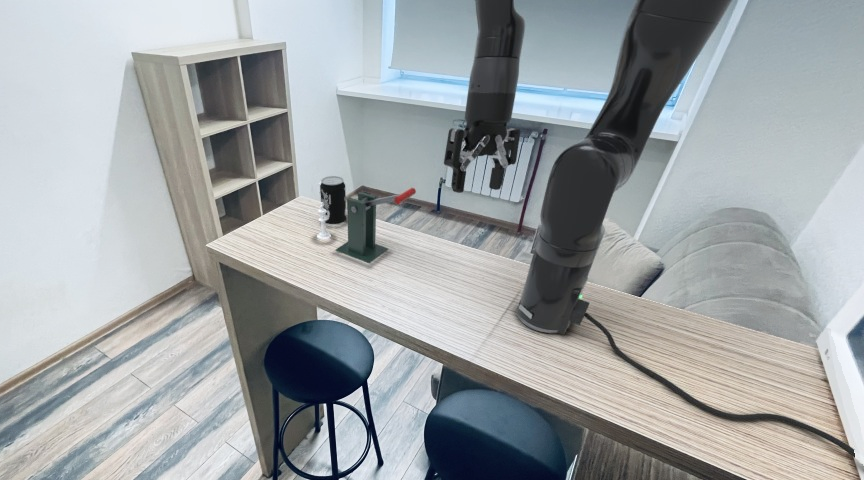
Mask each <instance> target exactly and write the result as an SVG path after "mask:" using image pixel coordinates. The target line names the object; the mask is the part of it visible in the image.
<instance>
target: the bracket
mask: <svg viewBox="0 0 864 480" xmlns="http://www.w3.org/2000/svg"><path fill="white" fill-rule="evenodd" d="M363 198H368V200H369V201H370V200H375V199H377V195H373V194H370V193H366V192H363V191H359V192H358V193H357V198H353V197H348V198H346V220H347V242H345V243H343V244H342V245H340V246H339V247H337V248H336V249H334V250H335V251H336V252H338V253H341V254H343V255H345V256H349V257H351V258H354V259H357V260H359V261H362V262H364V263H367V264H370V263H372V262H373V261H375V260H376V259H377V258H379V257H380V256H381V255H383V254H385V252H387V251H388V250H389V248H388V247H385V246H382V245H379V244H377V243H376V237H377V236H376V235H377V234H376V230H377V205H373V206H371V208H369V209H368V210H366V202H363V201H360V200H358V199H363Z"/></svg>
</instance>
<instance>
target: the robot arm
mask: <svg viewBox="0 0 864 480" xmlns="http://www.w3.org/2000/svg"><path fill="white" fill-rule="evenodd" d="M474 2H475V4H474V6H475V16H476V25H477V34H476V40H475V46H474V47H475V48H474V54H473V55H474V56H473V62H472V67H471V70H470V74H469V81H468V87H467V88H468V89H467V96H466V104H465V112H464V120H465V123H466V124H465V127H464V128H463V129H462V128H453V127H451V128H450V129H449V130H448V133H447V140H446V147H445V152H444V158H443V164H444V166H446V167H449V168H451V169H452V174H451V183H450V187H451V189H452V191H453V192H454V193H458V194H461V193H463V192H464V190H465V184H466V176H467V169H468V167H469V166H470V164H471V162H473V161H475V160H476V158H477V157H483V156H487V157H488V158H490V160H491V162H492V165H493V167H491V172H490V177H489V185H488V187H489V189H490V190H491V189H492V190H495V191H497V190H498V191H499V190H501V187H502V185H503V183H504V177H505V171H506V169H507V168H508V167H509V166H510V165H516V163H517V158H518V152H519V145H520V138H521V129H520V128H512V127H509V128H507V125H508V123H510V122H511V121H512V117H513V112H514V105H515V99H516V95H517V94H516V93H517V88H518V83H519V75H520V62H521V57H522V56H521V55H522V49H523V44H524V37H525V31H526V21H525V19H524V17H523V16H522V15H521V14H520V13H519V12H518V11H517V10H516V8H515V2H514V0H474ZM732 2H733V0H636V1H635V2H634V5H633V7H632V8H631V12H630V14H629V16H628V19H627V22H626V24H625V27H624V31H623V33H622V36H621V40H620V44H619V48H618V52H617V53H618V54H617V58H616V63H615V69H614V74H613V78H612V82H611V86H610V88H609V92H608V94H607V96H606V99H605V101H604V103H603V105H602V107H601V109H600V111H599V113H598V115H597V116H596V118H595V120H594V122H592V123H593V124H592V125H591V127H590V128H589V130H588V132H587V133H586V135H585V136H584V138H582V140H580V141H578V142H576V143H573V144H572V145H570V146H569V147H567V148H565V149H564V150H563V151H561V153H560V154H559V155H558V156H557V157H556V159H555V160H554V163H553V164H552V167H551V169H550V172H549V176H548V179H547V183H546V187H545V192H544V195H543V200H542V205H541V208H540V215H539V216H540V224H541V225H540V229H539V233H538V237H537V240H536V244H535V247H534V251H533V254H532V258H531V261H530V264H529V268H528V272H527V275H526V278H525V282H524V285H523V289H522V293H521V296H520V300H519V303H518V306H517V309H516V315H517V318H518V319H519V321H520V322H521V323H522V324H524V325H525V326H526V327H528V328H529V329H532V330H534V331H537V332H540V333H544V334H559V335H562V336H564V335H565V334H566V333H567V330H568V329H569V327H570V325H571V323H572V324H575V325H578V326H581V324H582V322H583V320H584V318H585V319H587V320H588V321H589V322H591V323H592V324H593V325H594V326H596V327H597V328H598V329H599V330H600V331H601V332H602V333H603V334H604V335H605V337H606V338H607V340H608V343H609V345H610V347H611V349H612V351H614V352H615V353H616V354H617V355H618V356H619V357H620V358H621V359H622V360H624V361H625V362H627V363H628V364H630V365H631V366H633V367H634V368H636V369H638V370H639V371H641V372H643V373H645V374H647V375H648V376H650V377H652V378H653V379H656V380H657V381H659V382H660V383H662V384H663V385H665V386H667V387H668V388H670V389H671V390H672V391H674V392H675V393H677V394H678V395H679V396H681V397H682V398H684V399H685V400H687V401H688V402H690V403H692V404H693V405H695V406H696V407H698V408H700V409H702V410H704V411H705V412H709V413H711V414H713V415H716V416H717V417H718V416H719V417H722V418H725V419H729V420H735V421H758V420H774V421H779V422H784V423H786V424H789V425H792V426H795V427H797V428H800V429H802V430H805V431H807V432H810V433H812V434H814V435H816V436H819V437H821V438H823V439H825V440H826V441H829V442H831V443H833V444H834V445H836V446H837V447H839V448H841V449H842V450H843V451H845V452H847V454H849V455H850V456H851V457H853V458H854V459H855V453H854V450H855V448H853V447H852V446H851V445H849V444H847V443H845V441H843V440H840V439H839V438H837V437H835V436H833V435H831V434H829V433H827V432H825V431H823V430H821V429H819V428H816V427H813V426H812V425H809V424H808V423H804V422H801V421H799V420H796V419H794V418H791V417H788V416H786V415H785V416H784V415H780V414H775V413H747V414H737V413H730V412H726V411H723V410H721V409H720V410H719V409H717V408H714V407H712V406H710V405H707V404H705V403H704V402H702V401H700V400H698V399H697V398H695V397H693V396H692V395H690V394H689V393H687V392H686V391H685V390H683V389H682V388H680V387H679V386H677V385H675V384H674V383H673V382H672V381H670V380H668V379H666V378H665V377H664V376H662V375H660V374H658V373H656V372H655V371H653V370H651V369H650V368H647V367H645V366H644V365H642V364H640V363H638V362H637V361H635V360H633V359H632V358H630V357H628V355H627V354H625V353H624V352H623V351H622V350H621V349H620V348H619V347H618V346H617V345H616V343H615V340H614V337H613V335H612V333H610V331H609V330H608V329H607V328H606V327H605V326H604V325H603V324H602V323H601V322H599V321H598V320H597V319H595V318H594V317H593V316H592V315H590V314H589V313H588V312H587V311H588V309H589V306H590V304H591V303H590V302H589V301H586V300H584V299H583V300H582V298H583V293H584V290H585V288H586V285H587V283H588V279H589V274H590V271H591V269H592V266H593V264H594V262H595V259H596V256H597V254H598V251H599V248H600V246H601V243H602V242H603V238H604V236H605V233H606V232H605V231H606V229H605V226H604V221H605V217H606V214H607V212H608V209H609V206H610V203H611V201H612V198H613V197H614V193H615V192H617V191H618V190H619V189H621V188H623V186H625V185H626V183H627V182H628V181H629V180H630V179H631V177H632V176H633V174H634V172H635V170H636V167H637V166H638V164H639V162H640V159H641V156H642V155H643V152H644V150H645V148H646V146H647V143H648V141H649V139H650V136H651V134H652V132H653V130H654V128H655V126H656V124H657V122H658V120H659V118H660V116H661V114H662V112H663V110H664V109H665V107H666V105H667V103H668V102H669V100H670V99H671V97H673V94H674V93H675V92H676V90H677V89H678V87H679V86H680V84H681V83H682V82H683V80H684V78H686V75H687V74H688V73H689V71H690V69H691V68H692V66H693V65H694V63H695V61H696V60H697V59H698V57H699V56H700V54H701V52H702V50H703V49H704V48H705V46H706V44H707V43H708V41H709V40H710V39H711V37H712V35H713V34H714V32H715V30H716V29H717V27H718V26H719V24H720V22H721V21H722V19H723V17H724V15H725V13H727V10H728V9H729V7H730V5H731V3H732Z"/></svg>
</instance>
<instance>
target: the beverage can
mask: <svg viewBox="0 0 864 480" xmlns="http://www.w3.org/2000/svg"><path fill="white" fill-rule="evenodd" d="M344 180H345V179H344V178H343V177H341V176H339V175H338V176H336V175H330V176H325V177H323V178H322V179H321V183H320V184H319V192H320V203H321V202H323V204H324V206H323V208H324V209H326V214H325V217H326V218H327V220H326V221H325V224H328V225H340V224H342V223H345V222H346V220H347V198H346V197H347V196H346V195H347V194H346V193H347V192H346V183H345V181H344Z"/></svg>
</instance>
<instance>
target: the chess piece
mask: <svg viewBox="0 0 864 480" xmlns="http://www.w3.org/2000/svg"><path fill="white" fill-rule="evenodd" d="M323 206H324V204H323V202H321V201H320V205H319V209H317V212H318V215H319V217H318V219H317V220H318V221H319V222H320V232H319V233H317V235H316V237H317V238H318V239H319V240H327V239H330V238H331V236H332V235H331V233H329V232H328V231H327V230H328V229H327V225H326V223H325V221H326V220H327V218H326V217H325V214H326V209H324V208H323Z"/></svg>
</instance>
